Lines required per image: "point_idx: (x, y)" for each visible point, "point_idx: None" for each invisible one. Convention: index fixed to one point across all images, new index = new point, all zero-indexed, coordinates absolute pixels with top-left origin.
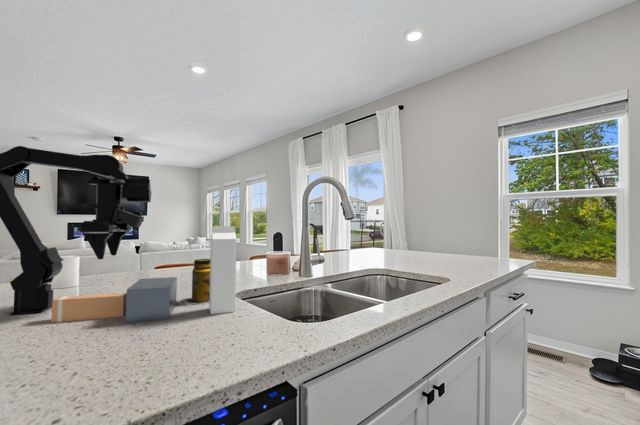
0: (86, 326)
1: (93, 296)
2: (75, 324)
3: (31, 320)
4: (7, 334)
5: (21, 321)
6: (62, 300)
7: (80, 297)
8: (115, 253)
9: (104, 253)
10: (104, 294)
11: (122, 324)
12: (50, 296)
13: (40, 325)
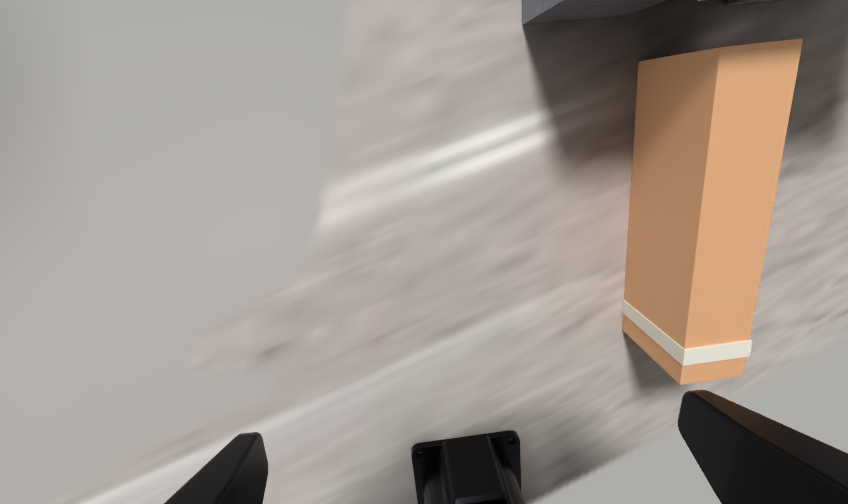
0: (794, 162)
1: (738, 223)
2: None
3: (616, 401)
4: (763, 376)
5: (617, 424)
6: (747, 337)
7: (735, 280)
8: (252, 450)
9: (742, 427)
10: (708, 182)
11: (843, 4)
12: (477, 473)
13: None
